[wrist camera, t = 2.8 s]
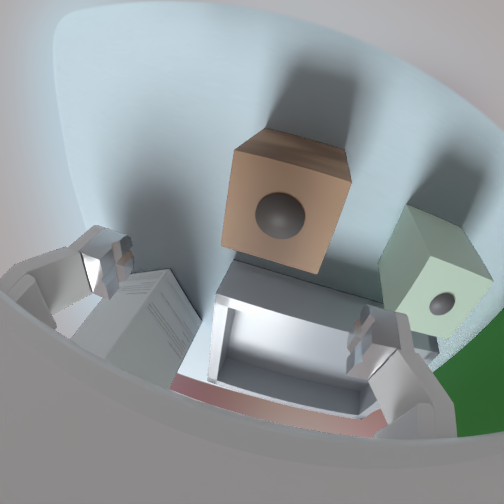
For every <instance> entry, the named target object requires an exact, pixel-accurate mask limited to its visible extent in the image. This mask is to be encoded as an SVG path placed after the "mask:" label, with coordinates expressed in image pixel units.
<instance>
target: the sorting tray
mask: <svg viewBox="0 0 504 504" xmlns="http://www.w3.org/2000/svg"><path fill="white" fill-rule="evenodd" d="M366 305H371V306H375V307H379V308H383V309H384V304H383V303H379V302H376V301H372V300H369V299H365V298H362V297H358V296H355V295H351V294H348V293H344V292H341V291H337V290H334V289H330V288H327V287H324V286H320V285H317V284H313V283H310V282H307V281H303V280H300V279H296V278H293V277H290V276H286V275H283V274H280V273H276V272H273V271H270V270H266V269H263V268H260V267H256V266H253V265H250V264H247V263H243V262H240V261H237V260H233V262H232V264H231V265H230V267H229V269H228V271H227V273H226V275H225V277H224V279H223V281H222V282H221V284H220V286H219V288H218V290H217V292H216V296H215V306H214V315H213V325H212V335H211V345H210V356H209V367H208V378H207V381H209V382H211V383H214V384H217V385H220V386H223V387H226V388H229V389H232V390H235V391H238V392H241V393H245V394H248V395H251V396H255V397H258V398H262V399H265V400H269V401H273V402H277V403H280V404H284V405H289V406H293V407H297V408H301V409H306V410H310V411H315V412H320V413H326V414H331V415H337V416H343V417H348V418H355V419H363V418H364V417H366V416H367V415H369V414H370V413H371V412H373V411H374V410H375V409H377V408H378V407H379V406H380V405H379V403H378V401H377V399H376V397H375V395H374V393H373V390H372V388H371V386H370V384H369V382H368V381H369V380H366V379H361V378H357V377H352V376H347V375H346V363H347V357H348V356H349V355H350V352H349V350H348V349H347V340H348V335H349V332H350V329H351V327H352V325H353V323H354V322H355V321H356V320H359V319H361V317H360V312H361V311H362V309H363V307H364V306H366ZM411 334H412V339H413V345H414V350H415V353H419V355H420V356H421V358H422V359H423V360H424V362H425V363H426V364H427V365H428V364H429V363H430V362H431V361H432V360H433V359H434V358H435V357H436V356H437V355H438V354H439V348H438V343H437V338H436V336H431V335H427V334H423V333H419V332H415V331H411Z"/></svg>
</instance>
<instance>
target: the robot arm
mask: <svg viewBox="0 0 504 504" xmlns="http://www.w3.org/2000/svg"><path fill="white" fill-rule="evenodd" d="M131 247H132V242H131V238H130V237H129V236H128V235H125V234H123V233H120V232H117V231H114V230H111V229H108V228H105V227H102V226H99V225H95V226H93V227H91V228H90V229H89V230H88V231H87V232H85V233H84V234H83V235H82V236H81V237H79V238H78V239H77V240H76V241H75V242H74V243H73V244H71V245H70V246H69V247H68V248H67V247H63V248H60V249H56V250H54V251H50V252H48V253H45V254H42V255H39V256H36V257H33V258H30V259H28V260H25V261H22V262H19V263H17V264H14V266H13V267H11V268H10V269H9V270H8V271H7V272H6V273H5V274H4V275H3V276H2V277H1V278H0V504H504V431H502V432H496V433H490V434H483V435H476V436H467V437H457V428H456V418H455V409H454V403H453V402H452V400H451V399H450V397H449V396H448V394H447V393H446V391H445V390H444V388H443V387H442V386H441V384H440V383H439V381H438V380H437V378H436V377H435V376H434V374H433V373H432V371H431V370H430V369H429V367H428V366H427V364H426V363H425V362H424V360H423V359H422V358H421V356H420V355H419V353H415V350H414V345H413V339H412V334H411V328H410V323H409V319H408V316H407V314H405V313H400V312H396V311H391V310H387V309H383V308H379V307H375V306H371V305H366V306H364V307H363V309H362V311H361V312H360V317H361V319H359V320H356V321H355V322H354V323H353V325H352V327H351V329H350V332H349V335H348V340H347V349H348V350H349V352H350V355H349V356H348V357H347V363H346V375H347V376H352V377H357V378H361V379H366V380H369V381H368V382H369V384H370V386H371V388H372V390H373V393H374V395H375V397H376V399H377V401H378V403H379V405H380V408H381V410H382V412H383V414H384V416H385V419H386V421H387V423H388V425H387V426H385V427H384V428H382V429H381V430H379V431H378V432H376V433H375V434H374V438H371V437H359V436H350V435H341V434H333V433H326V432H320V431H314V430H308V429H303V428H297V427H292V426H287V425H283V424H278V423H274V422H270V421H266V420H261V419H258V418H254V417H250V416H246V415H243V414H239V413H236V412H232V411H229V410H226V409H222V408H219V407H216V406H213V405H210V404H207V403H204V402H201V401H199V400H196V399H193V398H190V397H187V396H185V395H182V394H179V393H177V392H175V391H172V390H170V389H167V388H165V387H162V386H160V385H157V384H155V383H153V382H151V381H148V380H146V379H144V378H142V377H139V376H137V375H135V374H133V373H131V372H129V371H127V370H125V369H123V368H121V367H119V366H117V365H115V364H113V363H111V362H109V361H107V360H105V359H103V358H101V357H99V356H98V355H96V354H94V353H92V352H90V351H89V350H87V349H85V348H83V347H82V346H80V345H78V344H77V343H75V342H73V341H72V340H70V339H68V338H67V337H65V336H63V335H62V334H60V333H59V332H57V331H56V330H55V329H56V327H57V326H56V322H55V321H54V319H53V317H52V315H53V314H55V313H57V312H59V311H60V310H62V309H64V308H66V307H68V306H70V305H72V304H73V303H75V302H77V301H79V300H81V299H83V298H84V297H87V296H88V295H90V294H91V292H92V293H94V294H96V295H99V296H101V297H103V298H106V299H108V300H110V299H111V298H112V296H113V295H114V294H115V293H116V292H117V290H118V289H119V283H120V282H122V281H125V280H127V278H128V277H129V276H130V274H131V272H132V269H133V265H134V257H133V255H132V253H131V251H130V250H129V249H130V248H131Z"/></svg>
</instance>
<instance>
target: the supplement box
mask: <svg viewBox="0 0 504 504" xmlns="http://www.w3.org/2000/svg"><path fill="white" fill-rule="evenodd" d="M201 323H202V321H201V319H200V318H199V316H198V315H197V313H196V312H195V310H194V308H193V307H192V305H191V304H190V302H189V300H188V299H187V297H186V295H185V294H184V292H183V291H182V289H181V287H180V285H179V284H178V282H177V280H176V279H175V277H174V275H173V274H172V272H171V270H170V269H164V270H156V271H149V272H141V273H134V274H130V276H129V277H128V278H127V280H125V281H122V282H120V283H119V289H118V290H117V292H116V293H115V294H114V295H113V296H112V298H111V299H110V300H108V299H106V298H102V300H101V301H100V302H99V303H98V305H97V306H96V307H95V308H94V310H93V311H92V312H91V313H90V315H89V316H88V317H87V318H86V320H85V321H84V322H83V323H82V325H81V326H80V327H79V329H78V330H77V331H76V333H75V334H74V335H73V336H72V338H71V339H70V340H72V341H73V342H75V343H77V344H78V345H80V346H82V347H83V348H85V349H87V350H89V351H90V352H92V353H94V354H96V355H98V356H99V357H101V358H103V359H105V360H107V361H109V362H111V363H113V364H115V365H117V366H119V367H121V368H123V369H125V370H127V371H129V372H131V373H133V374H135V375H137V376H139V377H142V378H144V379H146V380H148V381H151V382H153V383H155V384H157V385H160V386H162V387H165V388H167V389H169V388H170V386H171V384H172V382H173V379H174V377H175V375H176V374H177V371H178V369H179V367H180V365H181V363H182V362H183V359H184V357H185V355H186V353H187V351H188V349H189V347H190V345H191V343H192V341H193V339H194V337H195V335H196V333H197V331H198V329H199V327H200V325H201Z"/></svg>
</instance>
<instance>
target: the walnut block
mask: <svg viewBox="0 0 504 504" xmlns="http://www.w3.org/2000/svg"><path fill="white" fill-rule="evenodd" d="M351 183H352V181H351V176H350V171H349V167H348V162H347V158H346V153H345V150H343V149H340V148H337V147H334V146H330V145H327V144H324V143H320V142H317V141H313V140H310V139H306V138H303V137H299V136H295V135H291V134H287V133H283V132H279V131H275V130H271V129H266V128H264V129H263V130H261V131H260V132H259V133H257V134H256V135H254V136H253V137H252V138H250V139H249V140H247V141H246V142H245V143H243V144H242V145H241V146H239V147H238V148H236V149H235V150H234V155H233V161H232V168H231V175H230V182H229V189H228V196H227V203H226V210H225V217H224V225H223V232H222V240H221V246H223V247H226V248H229V249H233V250H236V251H239V252H243V253H246V254H249V255H253V256H256V257H259V258H263V259H266V260H270V261H273V262H276V263H280V264H283V265H286V266H290V267H293V268H296V269H300V270H303V271H306V272H310V273H313V274H317V273H318V271H319V269H320V266H321V264H322V261H323V259H324V256H325V254H326V251H327V249H328V246H329V244H330V241H331V238H332V236H333V233H334V231H335V228H336V225H337V223H338V220H339V217H340V214H341V212H342V209H343V206H344V203H345V201H346V198H347V195H348V192H349V189H350V186H351Z"/></svg>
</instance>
